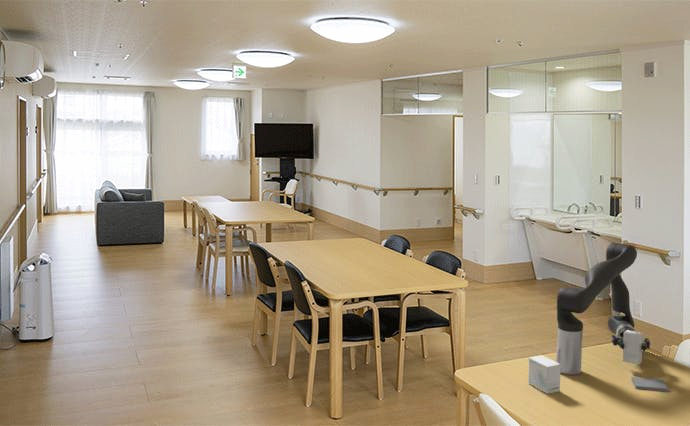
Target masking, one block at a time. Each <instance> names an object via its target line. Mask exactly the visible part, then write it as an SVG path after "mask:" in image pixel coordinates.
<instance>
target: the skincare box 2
mask: <svg viewBox="0 0 690 426" xmlns="http://www.w3.org/2000/svg"><path fill="white" fill-rule="evenodd" d="M635 331H636V330H635ZM635 331H630V330H627V331H625V332H624V340H623V343H624V349H622V362H625V363H629V364H633V365H640V364H642V360H643V359H642V357H643V350H642V340H643V339H644V338H643V335H644V333H643V332H639V331H636V332H635Z"/></svg>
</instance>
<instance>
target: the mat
mask: <svg viewBox="0 0 690 426" xmlns="http://www.w3.org/2000/svg"><path fill="white" fill-rule="evenodd" d="M631 382H632V384H633V386H634V388H635V389H638V390H648V391H658V392H659V391H660V392H669V388H668V386H667V383H666V382H665V380H664V379H658V378H650V377H649V378H647V377H639V376H638V377H636V376H631Z"/></svg>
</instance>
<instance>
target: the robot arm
mask: <svg viewBox="0 0 690 426" xmlns="http://www.w3.org/2000/svg"><path fill="white" fill-rule="evenodd" d="M606 247H607V248H606V251H605V259H606V260H604V261H600V262H598V263H596V264H595V265H593V266H592V267H591V268H590V269H589V270H588V271H587V272H586V274H585V277H584V281H585V282H584V283H585V287H584V288H582V289H580V288H574V287H568V286H563V287H561V288H560V289H559V291H558V292H557V296H556V322H557V340H556V342H557V344H556V356H555V362H557V363H559V364H561V370H560V374H562V375H563V374H564V375H573V376H576V375H580V374H581V372H582V355H583V338H584V337H583V336H584V324H583V322H582V320H580V319H579V318H577V317H576V316H575V315H574V313H575V314H582V313H585V312H586V311H587V310H588V308H589V307H590V306H591V305H592V303H593V302H594V300H595V299H596V298H597V297H598V296H599V295H600V294H601V293H602V291H604V290H605V289H606V288H607V287H608V286H609V285H610V288H611V307H612V308H611V309H612V310H613V311H614V312H616V313H619V314H620V313H621V314H623V315H612V316H610V317H609V318H608V320H607V326H608V329H609V330H610V332H611V333H613V334H615V335H613V334H611V340H610V341H611V343H612V346H615V347H617V346H618V347H619V348H620V349H621V350H623V349H624V343H623V340H624V332H625V331H627V330H630V331H635V332H637V331H636V329H635V321H634V319H633V316H632V312H631V307H630V291H629V289H628V286H627V285H626V283H625V281H624V280H623V277H622V276H621V273H623V272H624V271H626V270H627V269H628V268H630V267H631V266H632V265H633V264H634V263H635V261H636V259H637V254H638V252H637V249H636V247H635V246H633V245H632V244H627V243H618V242H617V243H616V242H611V243H609V244H608V245H607V246H606ZM650 347H651V341H650V339H649V338H648V337H645V338H643V339H642V352H645V351H647V349H651V348H650Z"/></svg>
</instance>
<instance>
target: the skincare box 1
mask: <svg viewBox="0 0 690 426" xmlns="http://www.w3.org/2000/svg"><path fill="white" fill-rule="evenodd" d="M560 370H561V364H559V363H557V362H556V360H553V359H551V358H549V357H546V356H545V355H542V354H540V355H536V356H531V357H528V383H529V384H528V385H530V384H531V385H530V386H532V385H533V386H535V387H536V388H535V387H534V388H535V389H537V388H538V389H537V390H539V389H540V390H541V392H542V391H543V393H544V392H545V393H544V394H546V393H547V394H546V395H550V394H554V393H559V392H561V373H560ZM533 386H532V387H533ZM540 390H539V391H540ZM549 393H550V394H549Z"/></svg>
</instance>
